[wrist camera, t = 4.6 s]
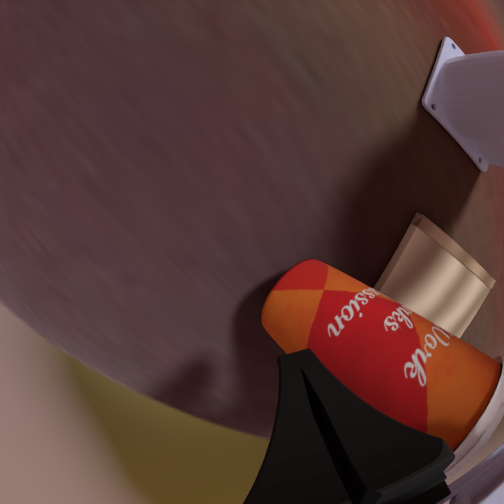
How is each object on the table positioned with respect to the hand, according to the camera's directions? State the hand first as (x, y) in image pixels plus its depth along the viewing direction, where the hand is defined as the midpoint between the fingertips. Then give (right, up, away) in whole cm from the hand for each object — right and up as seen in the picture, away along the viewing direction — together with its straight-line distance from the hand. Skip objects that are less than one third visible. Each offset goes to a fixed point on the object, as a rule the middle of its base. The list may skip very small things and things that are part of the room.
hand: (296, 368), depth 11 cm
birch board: (+14, -3, +12) cm, 18 cm away
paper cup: (+1, +2, +7) cm, 7 cm away
